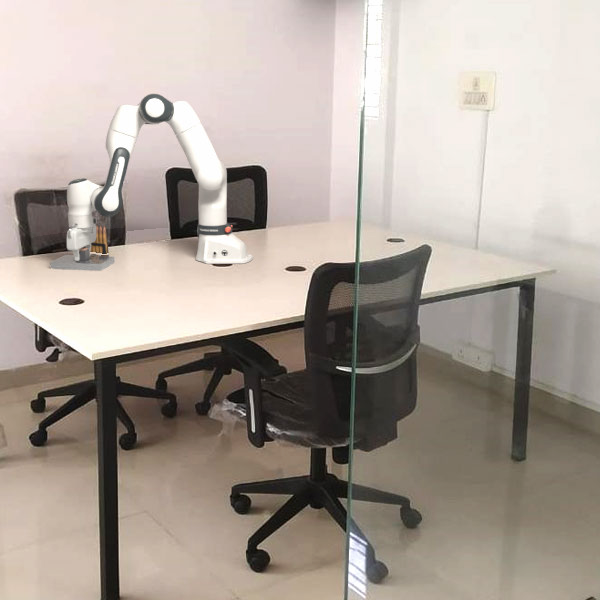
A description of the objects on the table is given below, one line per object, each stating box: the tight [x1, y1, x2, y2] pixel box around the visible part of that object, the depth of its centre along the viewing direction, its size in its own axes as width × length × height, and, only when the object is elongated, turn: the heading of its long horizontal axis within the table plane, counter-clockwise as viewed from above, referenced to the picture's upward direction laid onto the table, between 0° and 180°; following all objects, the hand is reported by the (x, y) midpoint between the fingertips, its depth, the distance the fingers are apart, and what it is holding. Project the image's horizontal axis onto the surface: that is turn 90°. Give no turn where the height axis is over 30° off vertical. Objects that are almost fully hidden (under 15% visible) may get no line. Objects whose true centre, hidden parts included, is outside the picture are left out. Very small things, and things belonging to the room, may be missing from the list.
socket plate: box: [49, 254, 115, 272], centre depth 347 cm, size 20×14×3 cm
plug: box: [79, 247, 91, 261], centre depth 347 cm, size 4×4×6 cm
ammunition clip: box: [83, 225, 110, 254], centre depth 367 cm, size 11×2×12 cm, turn 66°
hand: (82, 257), depth 347 cm, fingers open, 8 cm apart
